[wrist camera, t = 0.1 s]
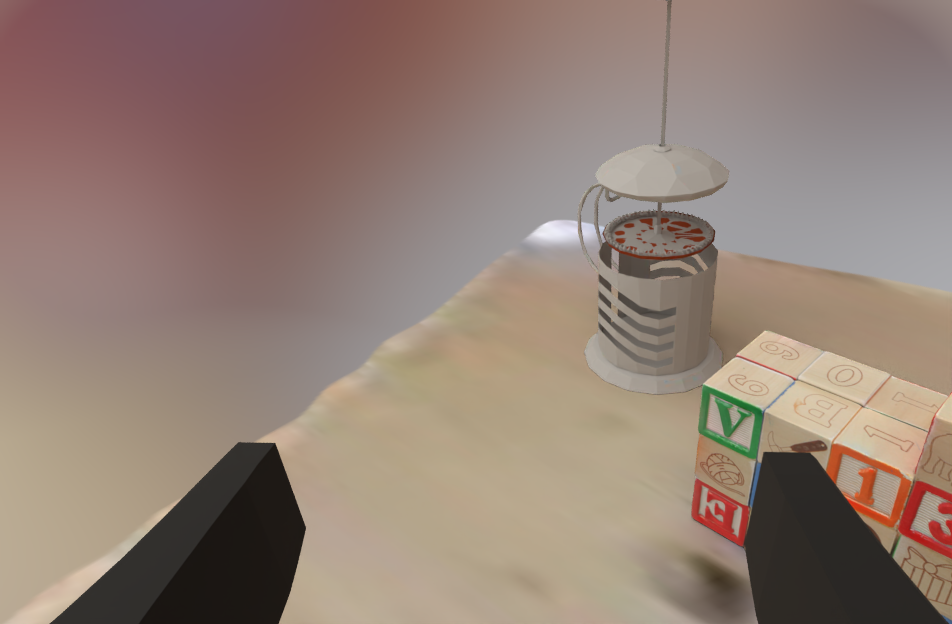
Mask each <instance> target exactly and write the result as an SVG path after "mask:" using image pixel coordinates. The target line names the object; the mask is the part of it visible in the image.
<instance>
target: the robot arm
mask: <svg viewBox="0 0 952 624" xmlns="http://www.w3.org/2000/svg"><path fill="white" fill-rule="evenodd" d="M305 530H306V526H305V524H304V521H303V518H302V515H301V513H300V510H299V507H298V504H297V502H296V499H295V496H294V493H293V491H292V488H291V485H290V482H289V480H288V477H287V474H286V471H285V469H284V466H283V463H282V460H281V458H280V455H279V452H278V449H277V447H276V444H275V443H241V442H239V443H237V444H236V445H235V446H234V447H233V448H232V449H231V450H230V451H229V452H228V453H227V454H226V455H225V456H224V457H223V458H222V459H221V460H220V461H219V462H218V463H217V464H216V465H215V466H214V467H213V468H212V469H211V470H210V471H209V472H208V473H207V474H206V475H205V476H204V477H203V478H202V479H201V480H200V481H199V483H197V484H196V485H195V486H194V487H193V488H192V489H191V490H190V491H189V492H188V493H187V494H186V495H185V496H184V497H183V498H182V499H181V500H180V501H179V502H178V503H177V504H176V505H175V507H174V508H173V509H172V510H171V511H170V512H169V513H168V514H167V515H166V516H165V517H164V518H163V519H162V520H161V521H160V522H158V523H157V524H156V525H155V526H154V527H153V528H152V529H151V530H150V531H149V532H148V533H147V534H146V535H145V536H144V537H143V538H142V539H141V540H140V541H139V542H138V543H137V544H136V545H135V546H134V547H133V548H132V549H131V550H130V551H129V552H128V553H127V554H126V555H125V556H124V557H123V558H122V559H121V560H120V561H118V562H117V563H116V564H115V565H114V566H113V567H112V568H111V569H110V570H109V571H108V572H106V573H105V574H104V575H103V576H102V577H101V578H100V579H99V580H98V581H97V582H95V583H94V584H93V585H92V586H91V587H90V588H89V589H88V590H87V591H86V592H85V593H83V594H82V595H81V596H80V597H79V598H78V599H77V600H76V601H75V602H74V603H73V604H71V605H70V606H69V607H68V608H67V609H66V610H65V611H64V612H63V613H62V614H60V615H59V616H58V617H57V618H56V619H55V620H53V621H52V622H51V623H50V624H279V621H280V618H281V616H282V613H283V610H284V608H285V605H286V602H287V600H288V597H289V594H290V591H291V587H292V583H293V580H294V576H295V572H296V568H297V564H298V560H299V556H300V552H301V547H302V543H303V539H304V535H305ZM745 550H746V557H747V563H748V569H749V576H750V582H751V588H752V594H753V600H754V605H755V611H756V616H757V620H758V624H949V623H948V622H947V621H946V620H945V619H944V617H943V616H942V615H941V614H940V613H939V612H938V611H937V609H936V608H935V607H934V606H933V605H932V604H931V602H930V601H929V600H928V599H927V598H926V597H925V595H924V594H923V593H922V592H921V591H920V589H919V588H918V587H917V586H916V585H915V584H914V582H913V581H912V580H911V579H910V578H909V576H908V575H907V574H906V573H905V572H904V571H903V569H902V568H901V567H900V566H899V565H898V563H897V562H896V561H895V560H894V559H893V557H892V556H891V555H890V554H889V552H888V551H887V550H886V549H885V548H884V546H883V545H882V544H881V543H880V541H879V540H878V539H877V538H876V536H875V535H874V534H873V532H872V531H871V530H870V529H869V527H868V526H867V525H866V524H865V522H864V521H863V520H862V518H861V517H860V516H859V515H858V513H857V512H856V511H855V509H854V508H853V507H852V506H851V504H850V503H849V502H848V500H847V499H846V498H845V496H844V495H843V494H842V492H841V491H840V490H839V488H838V487H837V486H836V484H835V483H834V482H833V480H832V479H831V478H830V476H829V475H828V474H827V472H826V471H825V470H824V468H823V467H822V466H821V464H820V463H819V462H818V460H817V459H816V458H815V457H814V456H813V455H812V454H811V453H806V452H763V457H762V462H761V467H760V471H759V476H758V481H757V486H756V491H755V496H754V500H753V505H752V510H751V515H750V520H749V525H748V529H747V534H746V539H745Z"/></svg>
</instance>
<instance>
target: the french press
mask: <svg viewBox="0 0 952 624" xmlns="http://www.w3.org/2000/svg"><path fill="white" fill-rule="evenodd" d="M666 1H668V5H667V26H666V47H665V67H664V89H663V110H662V131H661V144H659V145H644V146H641V147H638V148H634V149H632V150H629V151H625V152H622V153H619V154H617V155H616V156H614V157H613V158H611V159H610V160H608V161H607V162H605V163H604V164H603V165H601V166H600V168H599V169H598V171H597V173H596V174H595V176H596V177H597V179H598V181H599V183H597V184H594V185H592V186H591V187H590V188H589V189H588V190H587V191H586V192H584V194H583V197H582V199H581V202H580V204H579V208H578V234H579V238H580V242H581V245H582V249H583V252H584V255H585V257H586V258H587V260H588V262H589V263H590V265H591V267H592V268H593V269H594V270H595V271H596V272H597V273H598V332H597V333H596V334H595V335H593V336H592V337H591V338H590V339H589V341H588V344H587V346H586V349H585V352H584V353H585V356H586V359H587V362H588V366H589V368H590V369H592V370H593V371H594V372H595V373H596V374H597V375H598V376H599V377H601V378H602V379H603V380H604V381H606V382H608V383H611V384H613V385H616V386H618V387H621V388H623V389H626V390H628V391H635V392H642V393H649V394H657V395H658V394H668V393H678V392H686V391H689V390H691V389H694V388H696V387H699V386H701V385H703V383H705V382H706V381H707V380H708V379H709V378H711V377H712V376H713V375H714V374H715V373H717V372H718V371H719V370H720V369H721V368H722V358H723V353H722V351H721V350H720V348H719V347H718V345H717V343H716V342H715V340H714V339H713V338H712V337H711V336H710V328H711V317H712V308H713V299H714V285H715V279H716V268H717V256H718V250H717V249H716V248H715V247H714V245H713V244H712V242H713V241H714V237H715V230H714V229H713V228H712V227H711V226H710V225H709V224H708V222H706V221H703V219H700V218H699V217H698V218H697V217H695V216H693V215H688V214H684V213H679V212H678V213H677V212H674V211H673V212H670V211H668V212H666V211H665V210H663V211H661V205H662V203H669V202H680V201H690V200H694V199H698V198H701V197H705V196H708V195H712V194H713V193H715V192H716V191H718V190H719V189H721V188H722V187H723V186H724V185H725V184H726V182H727V180H728V177H729V170H728V169H726V167H724V166H723V165H722V164H721V163H720V162H718V161H717V160H715V159H714V158H712V157H710V156H709V155H707V154H706V153H704V152H702V151H701V150H697V149H694V148H690V147H686V146H682V145H677V144H671V145H670V144H664V143H665V123H666V102H667V82H668V61H669V40H670V20H671V0H666ZM601 185H602V186H601ZM598 186H601V188H600V191H599V193H598V195H597V197H596V200H595V210H594V226H595V229H596V233H597V236H598V240H599V243H600V247H601V248H600V250H599V252H598V268H597V267H596V266H595V265H594V263H593V261H592V260H591V258H590V257H589V255H588V254H587V251H586V248H585V246H584V242H583V236H582V230H581V210H582V207H583V204H584V202H585V199H586V197H587V195H588V194H589V193H590V192H591V191H592V189H594V188H595V187H598ZM604 188H605V197H606V199H607V201H610V202H613V201H615V200H616V199H619V198H620V197H626V198H631V199H635V200H640V201H651V202H658V211H655V210H654V209H653V211H650V210H648V212H647V211H643V212H641V211H639V212H634V213H629V214H626V215H623V216H622V217H620V216H618V218H615V219H614V220H613V221H612V222H609V224H607V225H606V227H605V229H604V231H603V236H604V238H605V240H606V242H605V243H602V240H601V237H600V232H599V227H598V201H599V198H600V195H601V193H602V191H603V189H604ZM609 191H610V192H612V193H614V194H616V195H617V196H615V197H613V198H610V197H609ZM612 248H613V249H615V250H616V251H618V252H619V267H618V265H617V264H616V263H615V262H614V261H613V259H612V258H611V250H612ZM695 254H698V255H699V256H700V257H701V259H702V260H703V261H704V263H705V264H706V265H707V267H708V269H707V270H705V271H704V270H703V269H702V267H701V266H700V265H699V263H698V262H697V261H696V259H695V258H693V257H691V256H692V255H695ZM668 260H680V261H683V262H685V263H687V264H689V265H691V266H693V267H694V268H695V269H696V270H697V272H698V273H697V274H695V275H694V274H692V273H690V272H688V271H686V270H684V269H682V268H680V267H676V268H660V269H657V270H653V271H650V265H652V264H655V263H657V262H660V261H668ZM611 264H612V265H613V266H614V267H615V268H616V269H617V270H618V271H619V273H617V272H615V271H614V270H612V269H611ZM661 276H680V277H682V278H675V279H666V280H655V278H658V277H661ZM611 285H612V286H613V287H614V288H615V289H616V290H617V291H618V299H617V298H616V297H615V296H614V295H613V294H612V293H611ZM611 303H612V304H613V305H614V306H615V307H617V308H618V316H617V315H616V314H615V313H614V312H613V311H612V310H611ZM611 319H612V320H613V322H611Z"/></svg>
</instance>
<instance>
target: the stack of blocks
mask: <svg viewBox="0 0 952 624" xmlns="http://www.w3.org/2000/svg"><path fill="white" fill-rule="evenodd" d="M698 431H699V433H700V436H699V442H698V448H697V458H696V467H695V477H696V480H695V485H694V494H693V501H692V518H693V519H695V520H697V521H698V522H700V523H702V524H704V525H705V526H707V527H709V528H711V529H712V530H714V531H716V532H717V533H719V534H721V535H723V536H724V537H726V538H727V539H729V540H731V541H733V542H735V543H736V544H738V545H739V546H743V547H744V548H745V539H746V534H747V529H748V525H749V520H750V515H751V510H752V505H753V500H754V496H755V491H756V486H757V481H758V476H759V471H760V467H761V462H762V457H763V452H806V453H811V454H812V455H813V456H814V457H815V458H816V459H817V460H818V462H819V463H820V464H821V466H822V467H823V468H824V470H825V471H826V472H827V474H828V475H829V476H830V478H831V479H832V480H833V482H834V483H835V484H836V486H837V487H838V488H839V490H840V491H841V492H842V494H843V495H844V496H845V498H846V499H847V500H848V502H849V503H850V504H851V506H852V507H853V508H854V509H855V511H856V512H857V513H858V515H859V516H860V517H861V518H862V520H863V521H864V522H865V524H866V525H867V526H868V527H869V529H870V530H871V531H872V532H873V534H874V535H875V536H876V538H877V539H878V540H879V541H880V543H881V544H882V545H883V546H884V548H885V549H886V550H887V551H888V552H889V554H890V555H891V556H892V557H893V559H894V560H895V561H896V562H897V563H898V565H899V566H900V567H901V568H902V569H903V571H904V572H905V573H906V574H907V575H908V576H909V578H910V579H911V580H912V581H913V582H914V584H915V585H916V586H917V587H918V588H919V589H920V591H921V592H922V593H923V594H924V595H925V597H926V598H927V599H928V600H929V601H930V602H931V604H932V605H933V606H934V607H935V608H936V609H937V611H938V612H939V613H940V614H941V615H942V616H943V617H944V619H945V620H946V621H947V622H948V623H949V624H952V392H951V394H950V395H949V396H947V395H945V394H942V393H940V392H937V391H934V390H931V389H928V388H925V387H922V386H920V385H917V384H914V383H911V382H908V381H906V380H903V379H900V378H896V377H893V376H891V375H890V374H888V373H886V372H883V371H880V370H877V369H875V368H872V367H869V366H866V365H863V364H861V363H858V362H855V361H852V360H850V359H847V358H844V357H842V356H839V355H836V354H834V353H831V352H826V351H822V350H820V349H818V348H815V347H812V346H809V345H806V344H804V343H801V342H798V341H796V340H793V339H791V338H788V337H785V336H781V335H779V334H776V333H774V332H771V331H764V332H763V333H762V334H761V335H759V336H758V337H757V338H756V339H755V340H753V341H752V342H751V343H750V344H749V345H747V346H746V347H745V348H744V349H742V350H741V351H740V352H739V353H737V355H736V358H733V359H732V360H731V361H730V362H728V363H727V364H726V365H725V366H723V367H722V368H721V369H720V370H719V371H718V372H717V373H715V374H714V375H713V376H712V377H711V378H709V379H708V380H707V381H706V382H705V383H703V386H702V394H701V404H700V415H699V425H698Z"/></svg>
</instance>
